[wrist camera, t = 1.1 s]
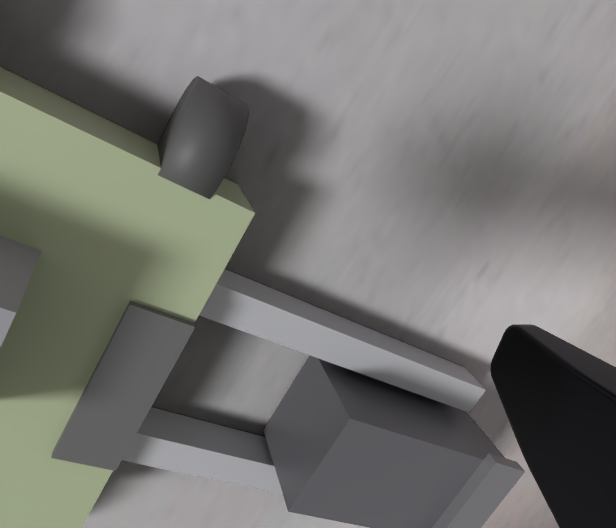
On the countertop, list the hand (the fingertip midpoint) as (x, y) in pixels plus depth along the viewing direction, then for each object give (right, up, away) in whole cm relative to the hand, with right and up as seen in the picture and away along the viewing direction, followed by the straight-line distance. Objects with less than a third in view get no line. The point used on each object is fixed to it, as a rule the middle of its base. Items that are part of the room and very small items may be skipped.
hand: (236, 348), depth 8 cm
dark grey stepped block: (+4, -7, +20) cm, 22 cm away
